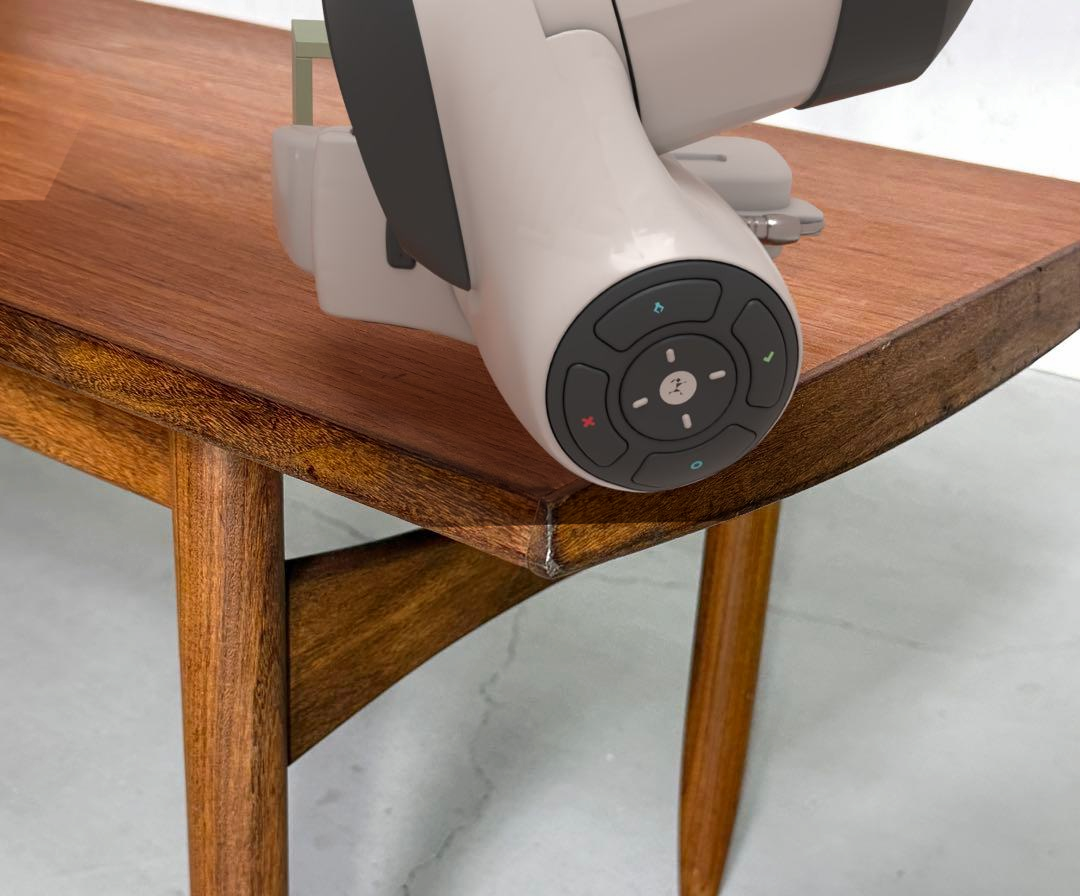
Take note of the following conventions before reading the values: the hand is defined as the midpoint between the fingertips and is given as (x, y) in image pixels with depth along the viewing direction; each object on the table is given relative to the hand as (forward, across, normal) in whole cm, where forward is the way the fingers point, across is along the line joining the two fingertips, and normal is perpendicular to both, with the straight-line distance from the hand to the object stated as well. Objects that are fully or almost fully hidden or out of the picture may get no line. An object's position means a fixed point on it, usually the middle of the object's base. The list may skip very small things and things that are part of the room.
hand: (503, 149), depth 65 cm
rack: (+36, 0, +9) cm, 37 cm away
